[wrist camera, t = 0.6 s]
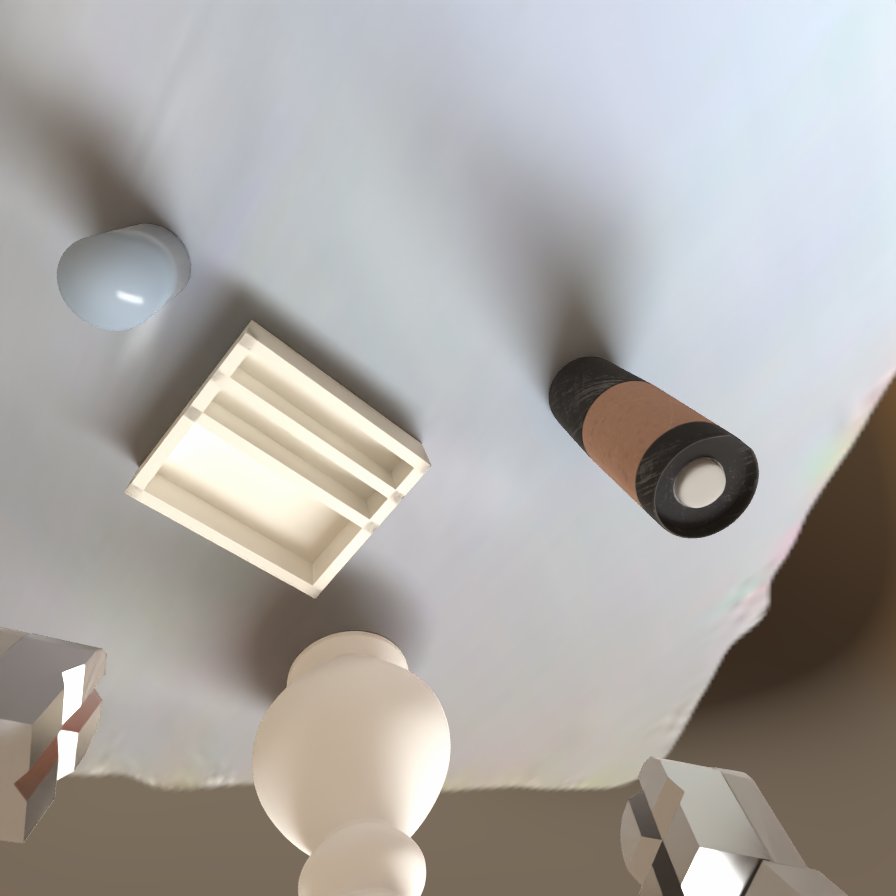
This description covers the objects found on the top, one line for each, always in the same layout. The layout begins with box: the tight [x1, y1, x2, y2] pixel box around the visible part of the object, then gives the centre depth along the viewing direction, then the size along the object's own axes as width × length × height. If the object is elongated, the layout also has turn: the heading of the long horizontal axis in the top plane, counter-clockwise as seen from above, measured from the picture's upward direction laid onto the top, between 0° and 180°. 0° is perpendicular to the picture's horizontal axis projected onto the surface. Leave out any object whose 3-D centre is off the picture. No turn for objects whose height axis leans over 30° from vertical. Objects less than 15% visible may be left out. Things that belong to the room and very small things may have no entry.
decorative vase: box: [252, 631, 450, 896], centre depth 55 cm, size 18×18×25 cm
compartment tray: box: [124, 320, 431, 598], centre depth 53 cm, size 16×18×5 cm
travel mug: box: [549, 357, 759, 538], centre depth 49 cm, size 8×8×20 cm
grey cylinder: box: [57, 224, 191, 331], centre depth 42 cm, size 6×6×11 cm
